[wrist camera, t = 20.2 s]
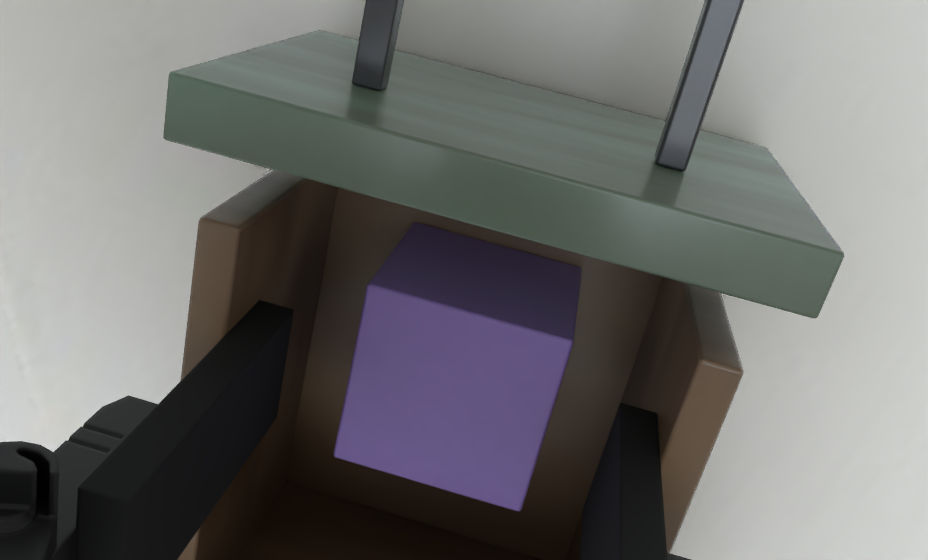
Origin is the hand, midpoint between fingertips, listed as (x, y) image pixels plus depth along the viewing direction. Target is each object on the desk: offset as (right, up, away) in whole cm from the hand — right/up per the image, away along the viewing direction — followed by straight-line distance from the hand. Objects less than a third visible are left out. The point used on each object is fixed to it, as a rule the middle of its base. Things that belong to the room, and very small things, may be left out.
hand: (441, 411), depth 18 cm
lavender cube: (+1, +2, +4) cm, 5 cm away
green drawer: (+1, +4, +5) cm, 6 cm away
